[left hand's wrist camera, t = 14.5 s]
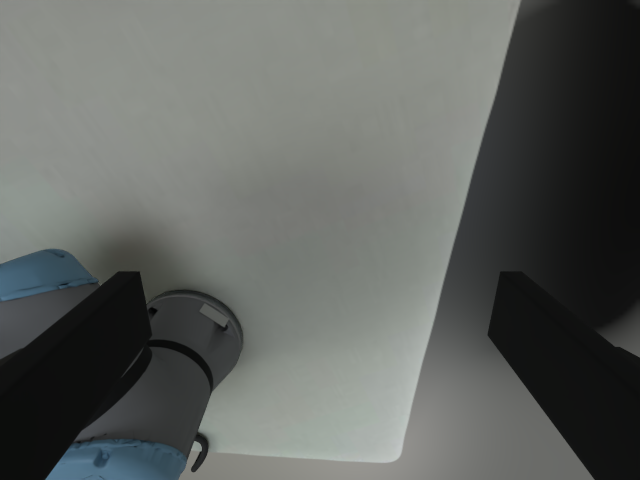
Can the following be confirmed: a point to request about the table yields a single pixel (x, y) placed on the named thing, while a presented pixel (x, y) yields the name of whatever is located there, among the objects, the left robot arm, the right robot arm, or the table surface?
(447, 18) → the table surface
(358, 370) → the table surface
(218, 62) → the table surface
